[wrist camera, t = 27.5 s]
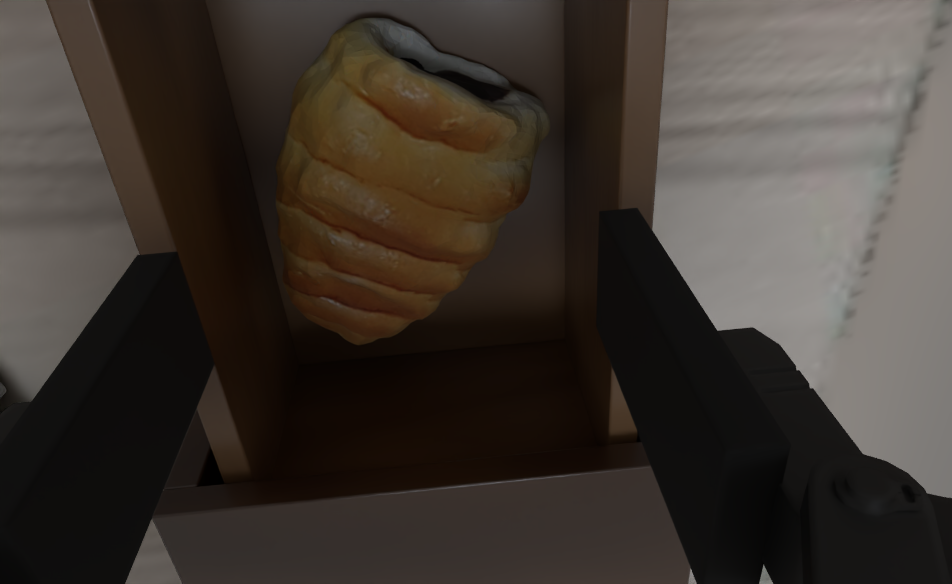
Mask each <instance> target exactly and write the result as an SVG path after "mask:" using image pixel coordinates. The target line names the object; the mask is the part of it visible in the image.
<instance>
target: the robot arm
mask: <svg viewBox="0 0 952 584" xmlns="http://www.w3.org/2000/svg"><path fill="white" fill-rule="evenodd" d="M596 327H597V330H598V332H599V335H600V337H601V340H602V342H603V345H604V348H605V350H606V353H607V355H608V358H609V360H610V363H611V365H612V368H613V371H614V373H615V376H616V378H617V381H618V383H619V386H620V388H621V391H622V393H623V396H624V399H625V401H626V404H627V406H628V409H629V411H630V414H631V416H632V419H633V422H634V424H635V427H636V429H637V432H638V434H639V437H640V439H641V442H642V445H643V447H644V450H645V452H646V455H647V457H648V460H649V462H650V465H651V468H652V470H653V473H654V475H655V478H656V480H657V483H658V485H659V488H660V491H661V493H662V496H663V498H664V501H665V503H666V506H667V508H668V511H669V514H670V516H671V519H672V521H673V524H674V526H675V529H676V531H677V534H678V537H679V539H680V542H681V544H682V547H683V549H684V552H685V554H686V557H687V560H688V562H689V565H690V567H691V570H692V572H693V575H694V577H695V580H696V582H697V584H759V582H760V577H761V573H762V569H763V564H764V566H765V568H766V570H767V572H768V574H769V576H770V578H771V580H772V582H773V584H952V498H946V497H941V496H936V495H932V494H927V493H926V491H925V489H924V488H923V487H922V486H921V485H920V484H919V483H918V482H917V481H916V480H915V479H913V478H912V477H911V476H910V475H909V474H908V473H907V472H905V471H903V470H901V469H899V468H897V467H896V466H894V465H892V464H890V463H889V462H887V461H884V460H881V459H877V458H874V457H870V456H867V455H864V454H862V452H861V451H860V450H859V448H858V447H857V446H856V444H855V443H854V442H853V440H852V439H851V438H850V437H849V435H848V434H847V433H846V431H845V430H844V429H843V427H842V426H841V425H840V423H839V422H838V421H837V419H836V418H835V417H834V415H833V414H832V413H831V412H830V410H829V409H828V408H827V406H826V405H825V404H824V402H823V401H822V400H821V398H820V397H819V396H818V394H817V393H816V392H815V391H814V389H813V388H811V389H810V387H809V383H808V381H807V380H806V379H805V377H804V376H803V375H802V373H801V372H800V371H799V370H798V371H797V370H796V366H795V364H794V363H793V362H792V360H791V359H790V358H789V356H788V355H787V354H786V352H785V351H784V350H783V349H782V347H781V346H780V345H779V344H778V343H776V342H775V341H773V340H772V339H770V338H769V337H767V336H765V335H764V334H762V333H761V332H759V331H758V330H756V329H755V328H753V327H752V328H742V329H732V330H722V331H717V330H716V328H715V326H714V325H713V323H712V322H711V320H710V319H709V317H708V316H707V314H706V313H705V311H704V310H703V308H702V306H701V305H700V303H699V302H698V300H697V299H696V297H695V296H694V294H693V293H692V291H691V290H690V288H689V286H688V285H687V283H686V282H685V280H684V279H683V277H682V276H681V274H680V273H679V271H678V270H677V268H676V266H675V265H674V263H673V262H672V260H671V259H670V257H669V256H668V254H667V253H666V251H665V250H664V248H663V246H662V245H661V243H660V242H659V240H658V239H657V237H656V236H655V234H654V233H653V231H652V230H651V228H650V226H649V225H648V223H647V222H646V220H645V219H644V217H643V216H642V214H641V213H640V211H639V210H638V208H629V209H618V210H608V211H599V232H598V270H597V309H596ZM214 365H215V363H214V360H213V357H212V354H211V351H210V348H209V345H208V342H207V339H206V336H205V333H204V330H203V327H202V324H201V321H200V318H199V315H198V312H197V309H196V306H195V303H194V300H193V297H192V294H191V291H190V288H189V285H188V282H187V279H186V276H185V273H184V270H183V267H182V264H181V261H180V258H179V255H178V252H177V251H176V252H165V253H155V254H144V255H137V257H136V258H135V259H134V261H133V262H132V263H131V265H130V266H129V268H128V269H127V270H126V272H125V273H124V275H123V276H122V277H121V279H120V280H119V281H118V283H117V284H116V286H115V287H114V288H113V290H112V291H111V293H110V294H109V295H108V297H107V298H106V299H105V301H104V302H103V304H102V305H101V306H100V308H99V309H98V310H97V312H96V313H95V315H94V316H93V317H92V319H91V320H90V322H89V323H88V324H87V326H86V327H85V328H84V330H83V331H82V333H81V334H80V335H79V337H78V338H77V339H76V341H75V342H74V344H73V345H72V346H71V348H70V349H69V351H68V352H67V353H66V355H65V356H64V357H63V359H62V360H61V362H60V363H59V364H58V366H57V367H56V368H55V370H54V371H53V373H52V374H51V375H50V377H49V378H48V380H47V381H46V382H45V384H44V385H43V386H42V388H41V389H40V391H39V392H38V393H37V395H36V396H35V398H34V399H33V400H32V401H31V402H21V403H13V404H12V405H11V406H10V407H8V408H7V409H6V410H4V411H3V412H2V413H1V414H0V584H125V582H126V580H127V578H128V575H129V573H130V570H131V568H132V565H133V563H134V560H135V558H136V556H137V553H138V551H139V548H140V546H141V543H142V541H143V538H144V536H145V533H146V531H147V529H148V526H149V524H150V521H151V519H152V516H153V514H154V511H155V509H156V507H157V504H158V502H159V499H160V497H161V494H162V492H163V489H164V487H165V485H166V482H167V480H168V477H169V475H170V472H171V470H172V467H173V465H174V463H175V460H176V458H177V455H178V453H179V450H180V448H181V445H182V443H183V440H184V438H185V436H186V433H187V431H188V428H189V426H190V423H191V421H192V418H193V416H194V414H195V411H196V409H197V406H198V404H199V401H200V399H201V396H202V394H203V392H204V389H205V387H206V384H207V382H208V379H209V377H210V374H211V372H212V370H213V367H214Z"/></svg>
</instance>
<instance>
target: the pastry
mask: <svg viewBox="0 0 952 584" xmlns="http://www.w3.org/2000/svg"><path fill="white" fill-rule="evenodd" d="M549 130H550V118H549V115H548V113H547V112H546V110H545V108H544V105H543V103H542V102H541V100H539V99H538V98H536V97H534V96H531V95H529V94H526V93H524V92H520V91H518V90H516V89H515V88H514V87H513V86H512V85H511V84H510V83H509V81H508V80H507V79H506V78H505V77H503V76H502V75H500V74H499V73H497V72H496V71H494V70H491V69H489V68H487V67H486V66H484V65H482V64H478V63H473V62H468V61H466V60H464V59H462V58H460V57H457V56H453V55H449V54H443V53H440V52H438V51H437V50H436V49H435V48H434V47H433V46H431V45H430V43H429V41H428V40H427V39H426V38H425V37H423V36H422V35H421V34H420V33H418V32H417V31H415V30H414V29H412V28H409V27H406V26H403V25H401V24H399V23H396V22H394V21H393V20H391V19H387V18H360V19H358V20H355V21H353V22H351V23H349V24H346V25H344V26H343V27H341V28H340V29H339V30H337V31H336V32H335V33H334V34H333V35H332V36H331V37H330V40H329V42H328V44H327V45H326V47H325V49H324V50H323V52H322V53H321V55H320V56H319V57H318V58H317V59H316V60H315V61H314V62H313V64H312V65H311V66H310V67H309V68H308V69H307V70H306V71H305V72H304V73H303V74H302V76H301V77H300V78H299V79H298V82H297V84H296V87H295V89H294V92H293V95H292V106H291V112H290V121H289V124H288V127H287V128H286V133H285V141H284V144H283V146H282V149H281V152H280V155H279V157H278V160H277V164H276V172H277V182H278V184H277V190H276V208H277V213H278V219H279V221H278V236H279V238H280V241H281V249H282V252H283V257H284V268H283V276H282V280H283V284H284V286H285V288H286V291H287V293H288V295H289V297H290V300H291V302H292V303H293V304H294V305H295V307H296V308H297V309H298V310H299V311H300V312H301V313H302V314H303V315H304V316H305V317H306V318H307V319H309V320H311V321H313V322H314V323H316V324H319V325H321V326H322V327H324V328H326V329H329V330H331V331H334V332H337V333H339V334H340V335H341V336H342V337H343V338H344V339H346V340H347V341H349V342H351V343H353V344H356V345H362V344H366V343H371V342H373V341H375V340H376V339H378V338H389V337H391V336H394V335H396V334H398V333H399V332H401V331H402V330H404V329H405V328H406V327H407V326H408V325H409V324H410V323H412V322H413V321H415V320H417V319H421V320H422V319H424V318H426V317H427V316H428V315H430V314H431V313H432V312H434V311H435V310H436V309H437V307H438V306H439V303H440V301H441V300H442V298H443V297H444V296H445V295H446V294H447V293H449V292H451V291H454V290H456V289H457V288H458V287H459V286H460V285H461V284H462V283H463V282H464V281H465V279H466V277H467V275H468V273H469V271H470V269H471V268H472V267H473V265H474V264H475V263H477V262H480V261H482V260H484V259H486V258H487V257H488V255H489V254H490V252H491V250H492V249H493V248H494V246H495V243H496V240H497V237H498V233H499V227H500V225H501V224H502V223H503V222H504V220H505V218H506V215H507V213H509V212H511V211H513V210H515V209H517V208H518V207H519V206H520V205H521V204H522V203H523V202H524V200H525V198H526V196H527V195H528V192H529V190H530V183H531V176H532V168H533V162H534V159H535V156H536V153H537V151H538V148H539V146H540V143H541V142H542V140H543V139H544V138H545V137H546V136H547V135H548V133H549Z"/></svg>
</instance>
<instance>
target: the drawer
mask: <svg viewBox="0 0 952 584" xmlns="http://www.w3.org/2000/svg"><path fill="white" fill-rule="evenodd" d="M668 1H669V0H46V2H47V5H48V8H49V10H50V13H51V16H52V18H53V21H54V24H55V27H56V29H57V32H58V35H59V37H60V40H61V43H62V45H63V48H64V51H65V54H66V56H67V59H68V62H69V64H70V67H71V70H72V73H73V75H74V78H75V81H76V83H77V86H78V89H79V91H80V94H81V97H82V100H83V102H84V105H85V108H86V110H87V113H88V116H89V119H90V121H91V124H92V127H93V129H94V132H95V135H96V137H97V140H98V143H99V146H100V148H101V151H102V154H103V156H104V159H105V162H106V165H107V167H108V170H109V173H110V175H111V178H112V181H113V183H114V186H115V189H116V192H117V194H118V197H119V200H120V202H121V205H122V208H123V211H124V213H125V216H126V219H127V221H128V224H129V227H130V230H131V232H132V235H133V238H134V240H135V243H136V246H137V248H138V251H139V254H140V255H144V254H155V253H165V252H176V251H177V252H178V255H179V258H180V261H181V264H182V267H183V270H184V273H185V276H186V279H187V282H188V285H189V288H190V291H191V294H192V297H193V300H194V303H195V306H196V309H197V312H198V315H199V318H200V321H201V324H202V327H203V330H204V333H205V336H206V339H207V342H208V345H209V348H210V351H211V354H212V357H213V360H214V363H215V365H214V367H213V370H212V372H211V374H210V377H209V379H208V382H207V384H206V387H205V389H204V392H203V394H202V396H201V399H200V401H199V404H198V406H197V411H198V414H199V416H200V419H201V422H202V424H203V427H204V430H205V433H206V435H207V438H208V441H209V443H210V446H211V449H212V451H213V454H214V457H215V460H216V462H217V465H218V468H219V470H220V473H221V476H222V479H223V481H224V484H230V483H239V482H249V481H259V480H269V479H279V478H289V477H299V476H308V475H318V474H328V473H338V472H348V471H358V470H368V469H378V468H387V467H397V466H407V465H417V464H427V463H437V462H447V461H456V460H466V459H476V458H486V457H496V456H506V455H516V454H526V453H535V452H545V451H555V450H565V449H575V448H585V447H595V446H604V445H614V444H624V443H634V442H637V434H638V432H637V429H636V427H635V424H634V422H633V419H632V416H631V414H630V411H629V409H628V406H627V404H626V401H625V399H624V396H623V393H622V391H621V388H620V386H619V383H618V381H617V378H616V376H615V373H614V371H613V368H612V365H611V363H610V360H609V358H608V355H607V353H606V350H605V348H604V345H603V342H602V340H601V337H600V335H599V332H598V330H597V327H596V309H597V270H598V232H599V211H608V210H618V209H629V208H638V210H639V211H640V213H641V214H642V216H643V217H644V219H645V220H646V222H647V223H648V225H649V226H650V228H651V230H652V225H653V211H654V197H655V183H656V169H657V155H658V141H659V127H660V113H661V99H662V85H663V71H664V57H665V43H666V29H667V15H668ZM360 18H387V19H391V20H393V21H394V22H396V23H399V24H401V25H403V26H406V27H409V28H412V29H414V30H415V31H417V32H418V33H420V34H421V35H422V36H423V37H425V38H426V39H427V40H428V41H429V43H430V45H431V46H433V47H434V48H435V49H436V50H437V51H438V52H440V53H443V54H449V55H453V56H457V57H460V58H462V59H464V60H466V61H468V62H473V63H478V64H482V65H484V66H486V67H487V68H489V69H491V70H494V71H496V72H497V73H499V74H500V75H502V76H503V77H505V78H506V79H507V80H508V81H509V83H510V84H511V85H512V86H513V87H514V88H515V89H516V90H518V91H520V92H524V93H526V94H529V95H531V96H534V97H536V98H538V99H539V100H541V102H542V103H543V105H544V108H545V110H546V112H547V113H548V115H549V118H550V130H549V133H548V135H547V136H546V137H545V138H544V139H543V140H542V142H541V143H540V146H539V148H538V151H537V153H536V156H535V159H534V162H533V168H532V176H531V183H530V190H529V192H528V195H527V196H526V198H525V200H524V202H523V203H522V204H521V205H520V206H519V207H518V208H517V209H515V210H513V211H511V212H509V213H507V215H506V218H505V220H504V222H503V223H502V224H501V225H500V227H499V233H498V237H497V240H496V243H495V246H494V248H493V249H492V250H491V252H490V254H489V255H488V257H487V258H486V259H484V260H482V261H480V262H477V263H475V264H474V265H473V267H472V268H471V269H470V271H469V273H468V275H467V277H466V279H465V281H464V282H463V283H462V284H461V285H460V286H459V287H458V288H457V289H456V290H454V291H451V292H449V293H447V294H446V295H445V296H444V297H443V298H442V300H441V301H440V303H439V306H438V307H437V309H436V310H435V311H434V312H432V313H431V314H430V315H428V316H427V317H426V318H424V319H422V320H421V319H417V320H415V321H413V322H412V323H410V324H409V325H408V326H407V327H406V328H405V329H404V330H402V331H401V332H399V333H398V334H396V335H394V336H391V337H389V338H378V339H376V340H375V341H373V342H371V343H366V344H362V345H356V344H353V343H351V342H349V341H347V340H346V339H344V338H343V337H342V336H341V335H340V334H339V333H337V332H334V331H331V330H329V329H326V328H324V327H322V326H321V325H319V324H316V323H314V322H313V321H311V320H309V319H307V318H306V317H305V316H304V315H303V314H302V313H301V312H300V311H299V310H298V309H297V308H296V307H295V305H294V304H293V303H292V302H291V300H290V297H289V295H288V293H287V291H286V288H285V286H284V284H283V280H282V276H283V268H284V257H283V252H282V249H281V241H280V238H279V236H278V221H279V219H278V213H277V208H276V190H277V184H278V182H277V172H276V164H277V160H278V157H279V155H280V152H281V149H282V146H283V144H284V141H285V133H286V128H287V127H288V124H289V121H290V112H291V106H292V95H293V92H294V89H295V87H296V84H297V82H298V79H299V78H300V77H301V76H302V74H303V73H304V72H305V71H306V70H307V69H308V68H309V67H310V66H311V65H312V64H313V62H314V61H315V60H316V59H317V58H318V57H319V56H320V55H321V53H322V52H323V50H324V49H325V47H326V45H327V44H328V42H329V40H330V37H331V36H332V35H333V34H334V33H335V32H336V31H337V30H339V29H340V28H341V27H343V26H344V25H346V24H349V23H351V22H353V21H355V20H358V19H360Z"/></svg>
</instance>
